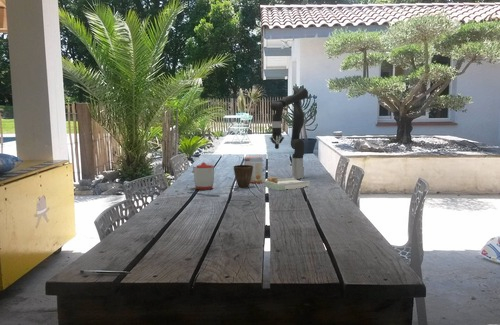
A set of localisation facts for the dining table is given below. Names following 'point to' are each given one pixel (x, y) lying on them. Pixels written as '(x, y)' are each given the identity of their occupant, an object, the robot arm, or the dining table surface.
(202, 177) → the citrus juicer
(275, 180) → the block
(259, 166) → the cracker box
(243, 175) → the plant pot
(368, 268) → the dining table surface
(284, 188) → the box
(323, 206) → the dining table surface
